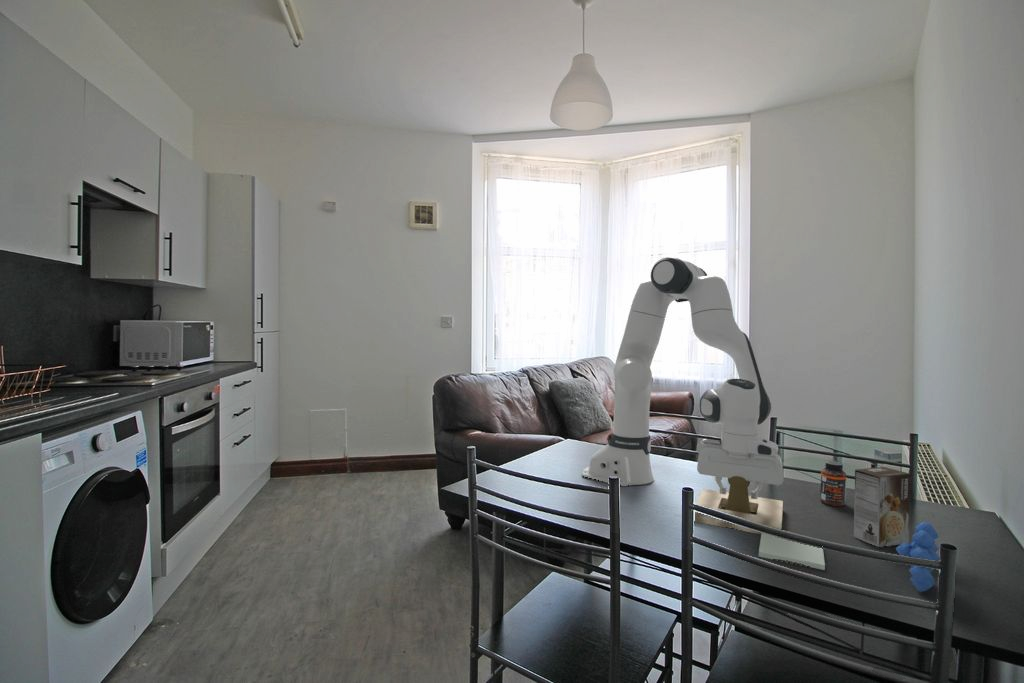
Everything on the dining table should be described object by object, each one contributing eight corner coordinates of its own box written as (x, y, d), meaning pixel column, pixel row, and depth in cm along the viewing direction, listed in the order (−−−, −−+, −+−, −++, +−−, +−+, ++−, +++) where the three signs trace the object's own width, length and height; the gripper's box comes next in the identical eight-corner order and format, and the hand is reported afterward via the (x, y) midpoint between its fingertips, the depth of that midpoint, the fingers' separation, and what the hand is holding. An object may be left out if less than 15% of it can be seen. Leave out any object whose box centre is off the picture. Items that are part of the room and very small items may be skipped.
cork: (746, 511, 133) (746, 470, 133) (754, 520, 127) (755, 477, 127) (722, 510, 134) (723, 469, 133) (729, 519, 128) (730, 476, 127)
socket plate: (690, 521, 126) (691, 511, 126) (703, 497, 144) (703, 488, 144) (781, 537, 117) (781, 527, 117) (782, 510, 134) (782, 500, 134)
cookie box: (881, 532, 120) (884, 465, 120) (909, 543, 114) (912, 473, 113) (852, 536, 118) (854, 468, 117) (879, 548, 111) (881, 476, 111)
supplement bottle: (823, 505, 138) (824, 464, 137) (817, 498, 144) (818, 459, 143) (848, 508, 136) (849, 466, 136) (841, 500, 142) (842, 460, 141)
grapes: (899, 568, 102) (901, 510, 102) (943, 580, 98) (945, 519, 97) (889, 589, 94) (891, 526, 94) (936, 603, 90) (938, 537, 89)
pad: (758, 556, 107) (758, 551, 107) (761, 535, 118) (761, 531, 118) (824, 570, 102) (824, 565, 102) (821, 547, 112) (821, 542, 112)
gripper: (695, 440, 132) (694, 492, 133) (783, 450, 122) (782, 506, 123) (699, 435, 138) (698, 486, 138) (784, 445, 128) (782, 499, 128)
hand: (738, 495), depth 130 cm, fingers open, 6 cm apart
